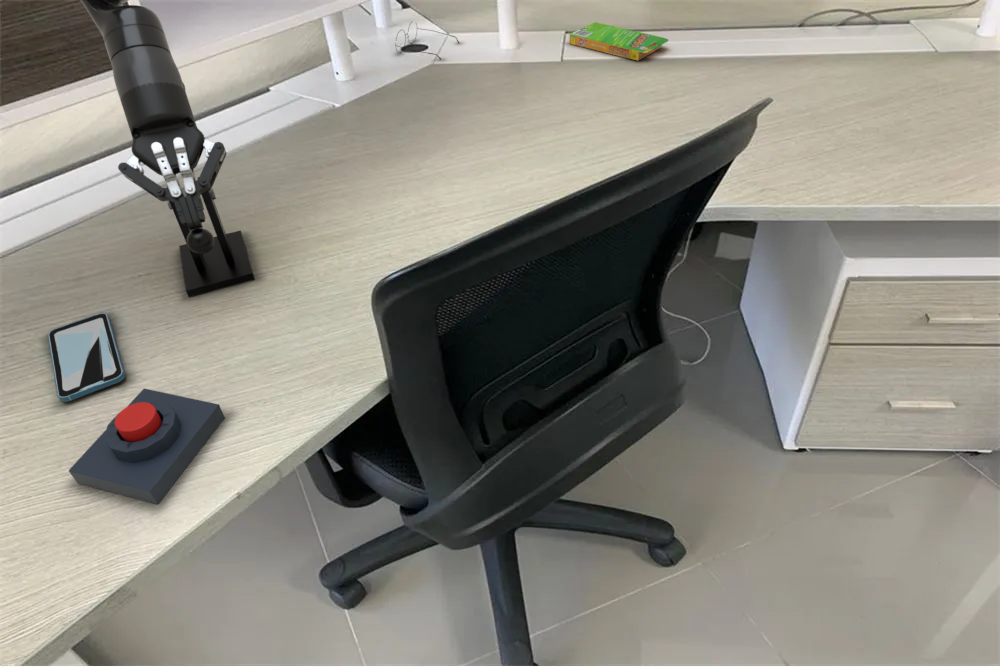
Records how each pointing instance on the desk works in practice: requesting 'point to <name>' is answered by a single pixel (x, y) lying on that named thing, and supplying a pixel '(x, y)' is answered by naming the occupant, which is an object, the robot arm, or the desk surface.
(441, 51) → the desk surface
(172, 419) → the button block
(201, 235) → the switch lever
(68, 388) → the smartphone
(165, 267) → the desk surface
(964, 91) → the desk surface
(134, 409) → the button
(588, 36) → the game box
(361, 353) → the desk surface
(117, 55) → the robot arm
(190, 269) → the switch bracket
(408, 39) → the eyeglasses
